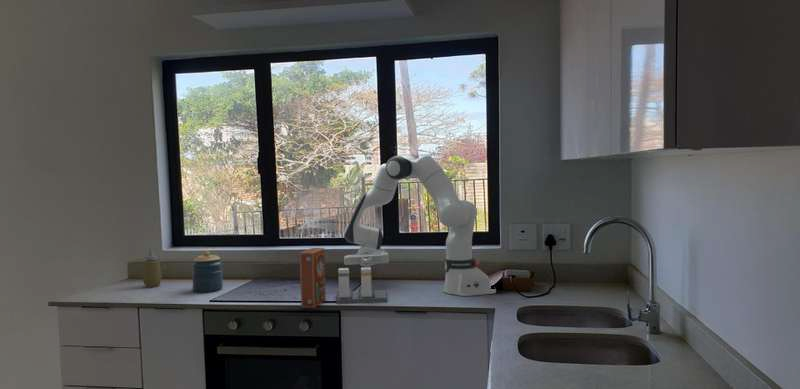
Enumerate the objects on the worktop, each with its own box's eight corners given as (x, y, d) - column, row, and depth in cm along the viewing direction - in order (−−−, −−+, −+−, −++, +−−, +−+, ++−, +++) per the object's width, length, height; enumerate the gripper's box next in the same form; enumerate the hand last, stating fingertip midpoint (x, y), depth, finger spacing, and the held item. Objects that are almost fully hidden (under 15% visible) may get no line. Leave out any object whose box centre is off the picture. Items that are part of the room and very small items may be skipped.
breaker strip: (385, 293, 207) (384, 263, 207) (386, 301, 193) (386, 269, 193) (337, 295, 206) (336, 264, 205) (335, 303, 192) (334, 270, 191)
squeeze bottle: (163, 286, 229) (162, 248, 228) (144, 289, 224) (142, 250, 224) (160, 283, 236) (159, 247, 235) (141, 286, 231) (140, 248, 230)
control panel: (328, 299, 199) (314, 309, 184) (312, 298, 200) (297, 308, 186) (327, 247, 198) (313, 253, 183) (311, 247, 200) (296, 252, 185)
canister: (219, 285, 230) (218, 248, 230) (226, 290, 219) (225, 251, 219) (190, 289, 223) (188, 250, 223) (195, 294, 212) (194, 254, 212)
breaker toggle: (371, 294, 198) (370, 267, 198) (371, 296, 194) (371, 269, 194) (361, 294, 198) (360, 267, 198) (361, 296, 194) (360, 269, 194)
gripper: (343, 251, 225) (342, 255, 211) (387, 248, 226) (389, 252, 213) (344, 265, 225) (343, 270, 211) (388, 262, 227) (390, 267, 213)
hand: (366, 261), depth 212 cm, fingers closed
